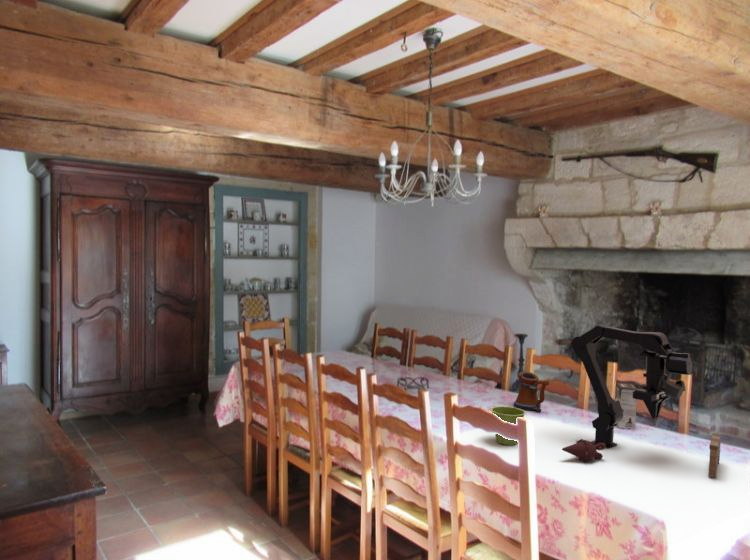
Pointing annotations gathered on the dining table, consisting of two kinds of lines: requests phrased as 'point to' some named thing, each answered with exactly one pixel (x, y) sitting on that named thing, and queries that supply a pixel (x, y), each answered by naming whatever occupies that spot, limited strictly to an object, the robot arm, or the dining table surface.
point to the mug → (530, 392)
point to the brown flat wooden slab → (714, 454)
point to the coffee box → (626, 404)
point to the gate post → (719, 448)
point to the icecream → (585, 450)
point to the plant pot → (509, 416)
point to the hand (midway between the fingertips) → (654, 418)
